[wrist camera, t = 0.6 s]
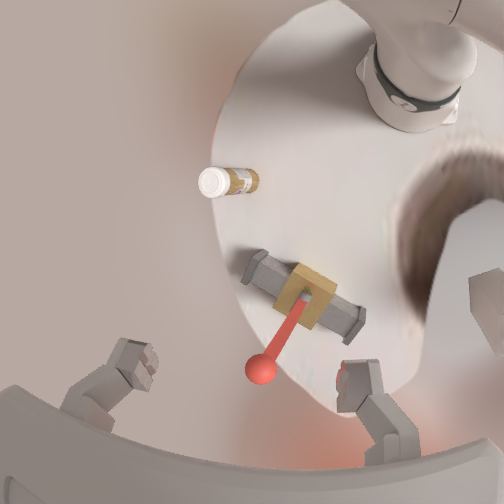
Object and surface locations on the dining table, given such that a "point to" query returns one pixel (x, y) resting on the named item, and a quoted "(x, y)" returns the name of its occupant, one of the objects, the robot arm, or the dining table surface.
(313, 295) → the valve body
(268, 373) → the lever
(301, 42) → the dining table surface
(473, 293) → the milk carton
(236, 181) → the sprinkles bottle
